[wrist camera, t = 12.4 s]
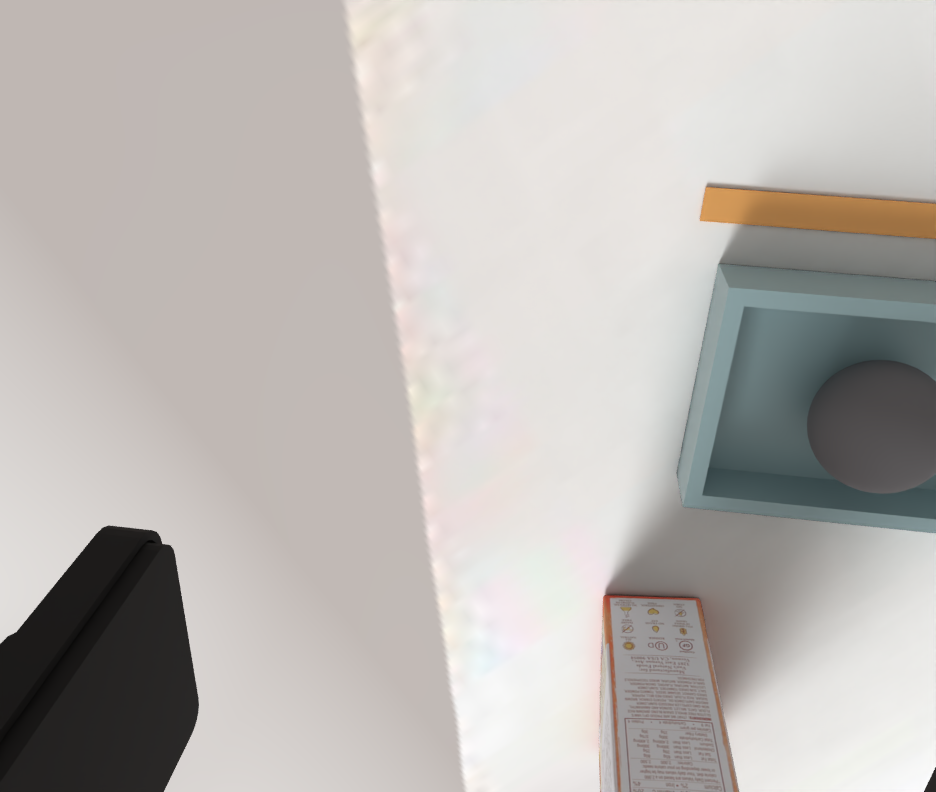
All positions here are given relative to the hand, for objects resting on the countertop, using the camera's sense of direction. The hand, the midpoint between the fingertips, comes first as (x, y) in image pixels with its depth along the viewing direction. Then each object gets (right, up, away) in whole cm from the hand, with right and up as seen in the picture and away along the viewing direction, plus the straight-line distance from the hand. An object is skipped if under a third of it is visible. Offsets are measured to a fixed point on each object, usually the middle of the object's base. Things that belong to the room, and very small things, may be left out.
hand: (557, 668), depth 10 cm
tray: (+18, +5, +30) cm, 35 cm away
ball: (+18, +3, +30) cm, 35 cm away
